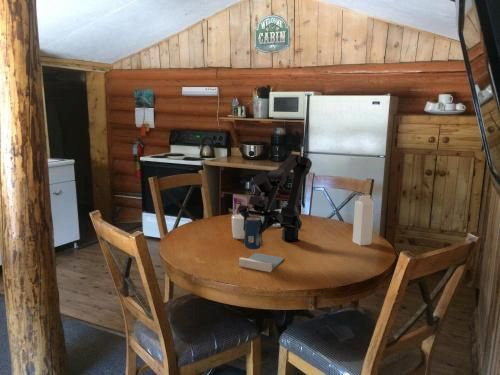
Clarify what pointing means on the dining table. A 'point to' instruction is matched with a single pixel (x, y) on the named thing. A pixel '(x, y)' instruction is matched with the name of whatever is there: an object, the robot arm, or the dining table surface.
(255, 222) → the soda can
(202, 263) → the dining table surface
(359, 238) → the milk
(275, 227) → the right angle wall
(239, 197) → the pink printed box
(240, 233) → the white cup
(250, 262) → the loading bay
